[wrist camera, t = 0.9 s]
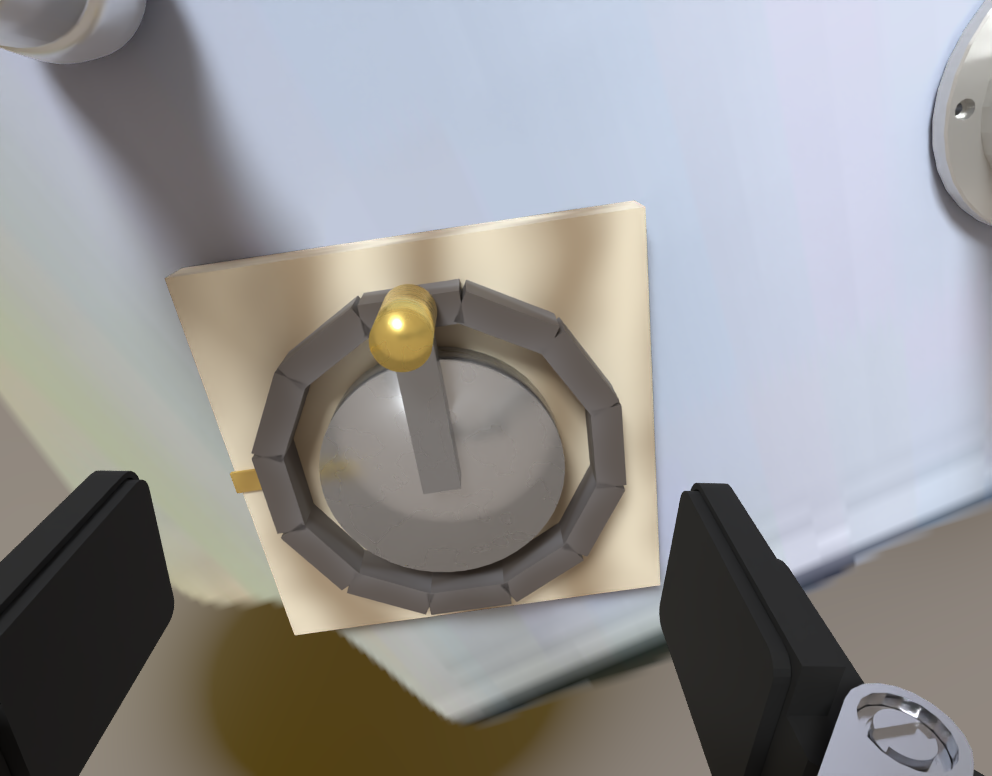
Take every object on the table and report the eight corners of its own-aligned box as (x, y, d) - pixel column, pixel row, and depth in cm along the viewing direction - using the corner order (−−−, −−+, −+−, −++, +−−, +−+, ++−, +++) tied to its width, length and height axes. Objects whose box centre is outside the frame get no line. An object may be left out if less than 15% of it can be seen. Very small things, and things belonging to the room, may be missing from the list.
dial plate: (634, 200, 30) (657, 214, 27) (651, 562, 39) (670, 609, 36) (178, 268, 31) (139, 291, 27) (299, 610, 40) (282, 662, 36)
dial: (569, 531, 35) (588, 610, 30) (357, 561, 36) (337, 644, 30) (538, 253, 29) (555, 289, 23) (278, 291, 29) (235, 336, 24)
